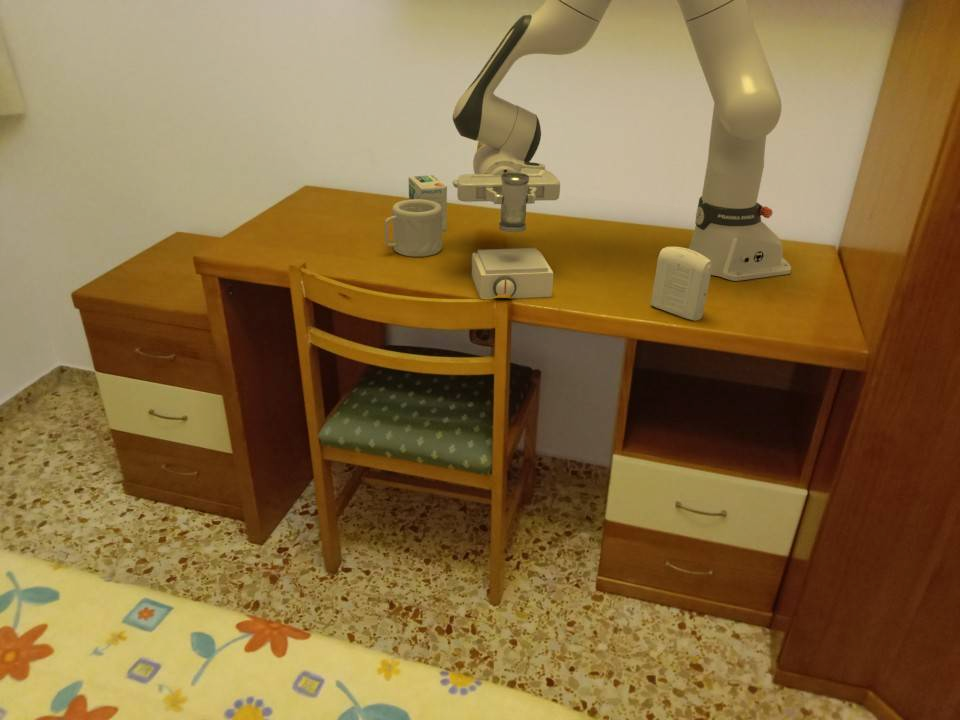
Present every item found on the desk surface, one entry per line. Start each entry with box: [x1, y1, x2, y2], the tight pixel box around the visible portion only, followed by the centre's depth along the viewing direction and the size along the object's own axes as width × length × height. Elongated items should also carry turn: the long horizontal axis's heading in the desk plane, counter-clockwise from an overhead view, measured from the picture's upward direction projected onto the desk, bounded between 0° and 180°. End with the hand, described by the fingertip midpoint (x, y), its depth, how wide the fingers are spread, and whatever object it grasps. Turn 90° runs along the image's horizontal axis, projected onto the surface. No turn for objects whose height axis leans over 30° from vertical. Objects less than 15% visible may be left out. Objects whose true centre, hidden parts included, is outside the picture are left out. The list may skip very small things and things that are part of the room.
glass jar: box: [498, 173, 529, 233], centre depth 142 cm, size 5×5×10 cm
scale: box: [471, 247, 554, 299], centre depth 148 cm, size 14×13×6 cm
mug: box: [384, 199, 443, 258], centre depth 164 cm, size 14×11×10 cm
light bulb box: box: [408, 174, 448, 232], centre depth 180 cm, size 11×7×11 cm, turn 21°
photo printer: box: [650, 246, 712, 322], centre depth 139 cm, size 10×4×12 cm, turn 47°
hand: (515, 199), depth 141 cm, fingers closed on glass jar, 5 cm apart
